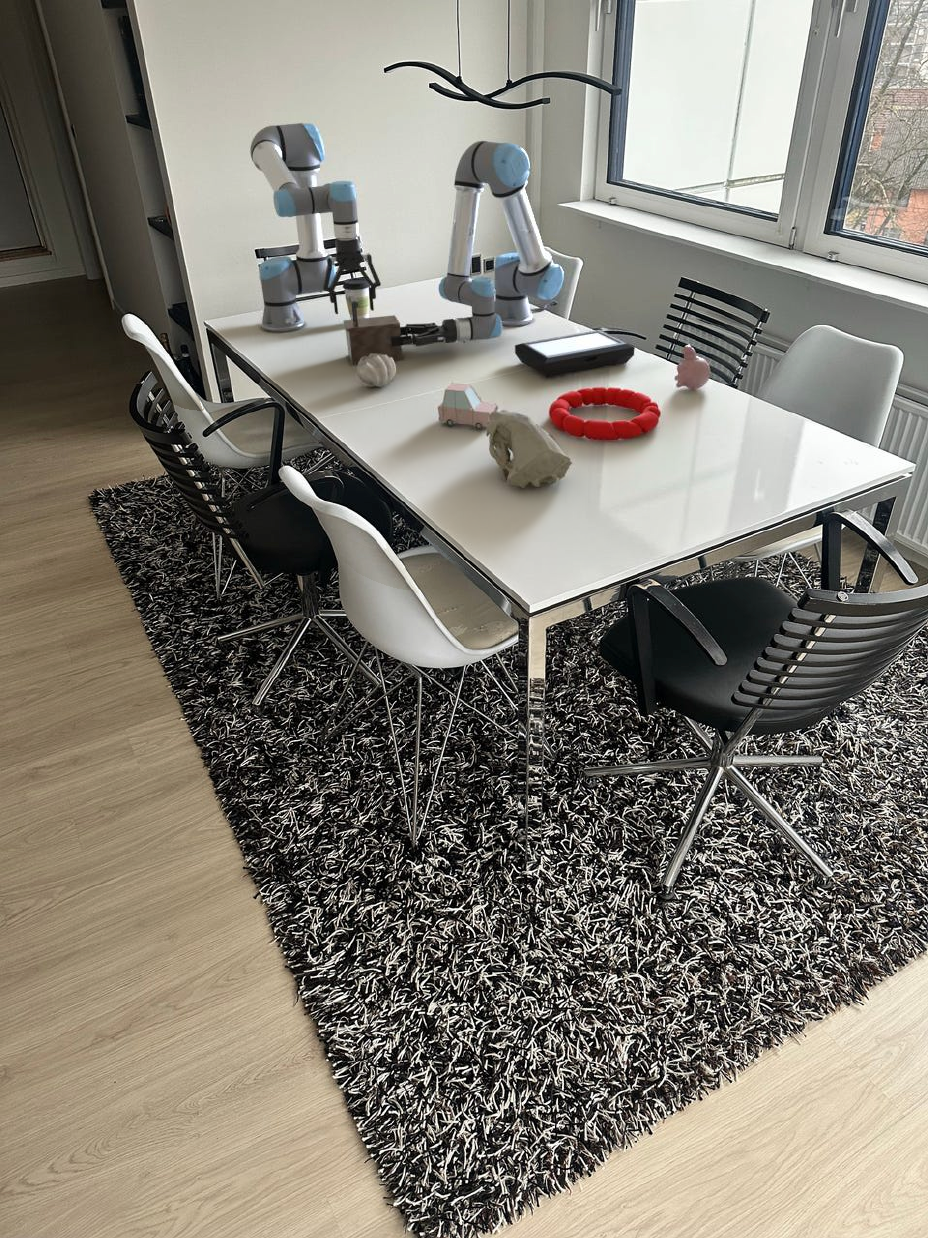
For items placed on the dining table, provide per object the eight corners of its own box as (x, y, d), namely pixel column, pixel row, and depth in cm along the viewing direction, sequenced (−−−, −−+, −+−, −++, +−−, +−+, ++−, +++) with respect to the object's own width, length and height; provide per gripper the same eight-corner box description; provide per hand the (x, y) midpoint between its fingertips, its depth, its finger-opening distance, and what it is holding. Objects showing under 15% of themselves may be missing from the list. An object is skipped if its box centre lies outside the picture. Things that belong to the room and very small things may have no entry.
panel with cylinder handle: (347, 331, 283) (344, 303, 278) (343, 323, 290) (340, 295, 285) (400, 326, 286) (398, 297, 281) (394, 318, 294) (392, 290, 288)
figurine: (665, 387, 264) (669, 347, 257) (693, 380, 268) (698, 340, 261) (686, 396, 257) (690, 355, 250) (714, 388, 262) (720, 348, 255)
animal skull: (496, 517, 219) (521, 479, 201) (463, 429, 225) (484, 384, 207) (557, 503, 225) (586, 465, 206) (523, 417, 231) (549, 373, 212)
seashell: (349, 385, 273) (346, 353, 267) (393, 376, 278) (391, 344, 273) (363, 395, 265) (359, 362, 260) (408, 385, 271) (405, 353, 265)
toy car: (488, 432, 240) (488, 396, 234) (436, 426, 244) (434, 390, 239) (499, 419, 247) (499, 384, 241) (448, 413, 252) (447, 379, 246)
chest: (352, 365, 289) (349, 331, 283) (348, 356, 297) (345, 323, 291) (402, 359, 292) (400, 326, 286) (397, 350, 300) (394, 318, 294)
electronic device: (544, 360, 268) (515, 342, 283) (544, 380, 271) (514, 361, 286) (634, 344, 278) (601, 327, 293) (633, 363, 282) (600, 346, 297)
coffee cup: (372, 326, 323) (368, 283, 314) (345, 327, 323) (340, 284, 315) (374, 318, 331) (371, 276, 322) (348, 319, 331) (344, 277, 323)
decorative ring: (589, 435, 224) (684, 402, 234) (527, 398, 247) (617, 369, 256) (589, 461, 229) (683, 427, 238) (529, 422, 251) (617, 393, 260)
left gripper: (310, 243, 267) (319, 317, 279) (386, 236, 271) (392, 310, 284) (307, 238, 273) (316, 311, 285) (382, 232, 277) (388, 304, 290)
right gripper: (463, 351, 289) (395, 358, 285) (448, 332, 307) (384, 338, 303) (463, 328, 285) (394, 335, 281) (447, 309, 303) (382, 316, 298)
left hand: (354, 311), depth 285 cm, fingers open, 11 cm apart
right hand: (389, 337), depth 292 cm, fingers closed on chest, 9 cm apart
